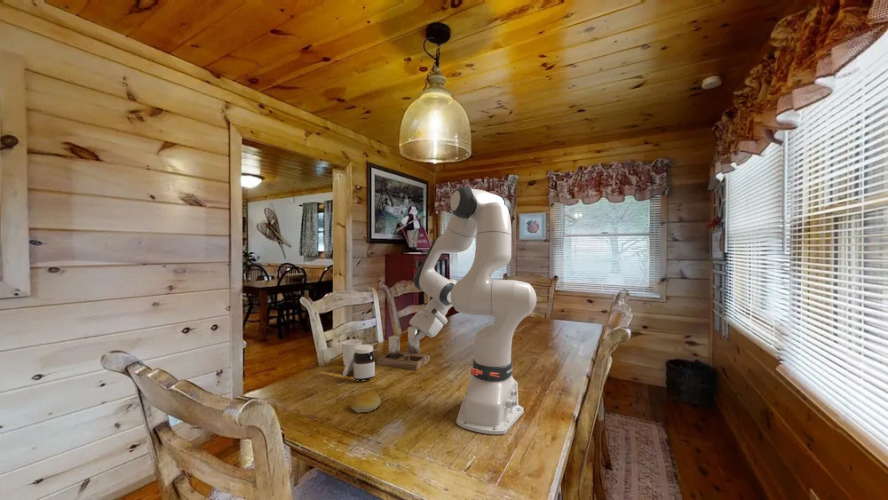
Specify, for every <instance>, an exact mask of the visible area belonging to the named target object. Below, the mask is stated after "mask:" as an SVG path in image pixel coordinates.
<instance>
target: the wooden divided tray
mask: <svg viewBox="0 0 888 500" xmlns="http://www.w3.org/2000/svg"><path fill="white" fill-rule="evenodd" d="M430 359H431V357H430V354H423V353H417V354H410V353H408V352H407V351H401V350H400V358H398V359H393V358H389V351H388V352H386V353H385V354H383V355H381V356H379V357H378V358H376V365H380V366H385V367H393V368H397V369H404V370H410V371H411V370H412V371H418V370H420V369H421V368H422V367H423V366H425V365H426V364H427V363H429V362H430Z"/></svg>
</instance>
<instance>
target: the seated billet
mask: <svg viewBox="0 0 888 500" xmlns="http://www.w3.org/2000/svg"><path fill="white" fill-rule="evenodd" d="M400 339H401V338H400V336H399V335H390V336H388V352H389V358H393V359H398V358H400V351H401V348H400V342H401V341H400Z"/></svg>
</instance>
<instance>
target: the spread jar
mask: <svg viewBox="0 0 888 500" xmlns="http://www.w3.org/2000/svg"><path fill="white" fill-rule="evenodd" d="M354 352H355V353H354V355H353V359H352V358H350V359H349V360H348V362H347V364H346V366H345V365H344V368H343V372H342V376H343V377H344V376H345V377H344V378H347V377H346V376H347V375H348V376H349V374H350V372H351V371H352V370H353V371H352V372H353V373H352V374H353V377H352V378H353V380H354V379H355V380H354V381H356V380H359V381H362V380H369V379H372V378H375V375H376V370H375V369H376V367H375V366H376V363H375V361H376V360H375V359H376V358H375V353H374V345H372V344H362V345H358V346H356V347H355V348H354ZM369 381H370V380H369Z"/></svg>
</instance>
